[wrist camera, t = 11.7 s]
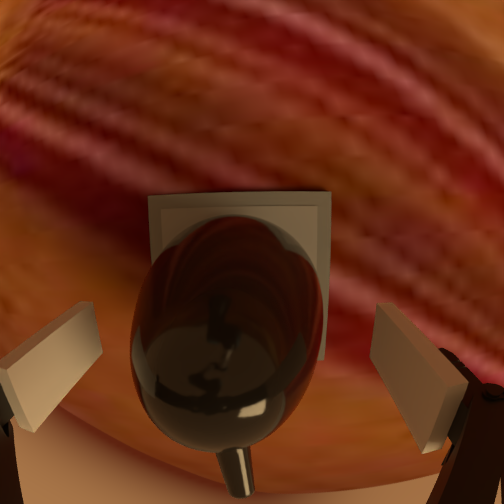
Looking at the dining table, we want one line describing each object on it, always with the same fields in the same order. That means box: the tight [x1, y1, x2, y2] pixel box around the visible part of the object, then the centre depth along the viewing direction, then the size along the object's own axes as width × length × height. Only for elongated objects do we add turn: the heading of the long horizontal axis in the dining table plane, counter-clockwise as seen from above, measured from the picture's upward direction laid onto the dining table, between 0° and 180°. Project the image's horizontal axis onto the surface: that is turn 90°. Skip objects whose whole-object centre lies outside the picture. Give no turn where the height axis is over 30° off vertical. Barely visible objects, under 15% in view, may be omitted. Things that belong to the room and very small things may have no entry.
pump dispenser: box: [130, 214, 324, 499], centre depth 15 cm, size 10×10×15 cm
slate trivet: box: [148, 191, 331, 360], centre depth 23 cm, size 13×13×1 cm
